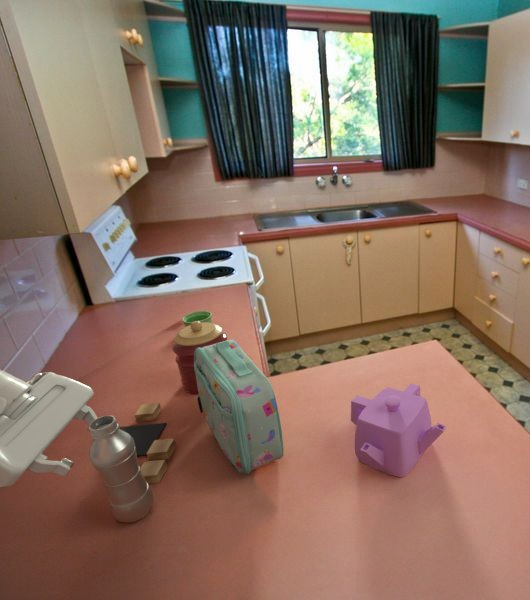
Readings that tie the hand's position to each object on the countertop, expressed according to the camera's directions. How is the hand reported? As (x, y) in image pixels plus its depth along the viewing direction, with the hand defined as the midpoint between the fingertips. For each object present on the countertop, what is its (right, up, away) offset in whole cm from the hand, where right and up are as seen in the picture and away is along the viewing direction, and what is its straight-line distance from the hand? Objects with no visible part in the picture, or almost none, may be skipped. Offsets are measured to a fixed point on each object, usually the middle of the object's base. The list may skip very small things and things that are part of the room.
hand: (86, 448), depth 70 cm
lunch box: (+17, -6, +23) cm, 29 cm away
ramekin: (-16, +15, +73) cm, 76 cm away
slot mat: (-7, -7, +23) cm, 25 cm away
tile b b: (+1, -8, +20) cm, 21 cm away
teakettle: (+50, -7, +18) cm, 54 cm away
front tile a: (+3, -10, +14) cm, 18 cm away
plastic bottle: (+4, -14, +6) cm, 16 cm away
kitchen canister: (0, +3, +44) cm, 44 cm away
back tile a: (-8, -3, +31) cm, 33 cm away
